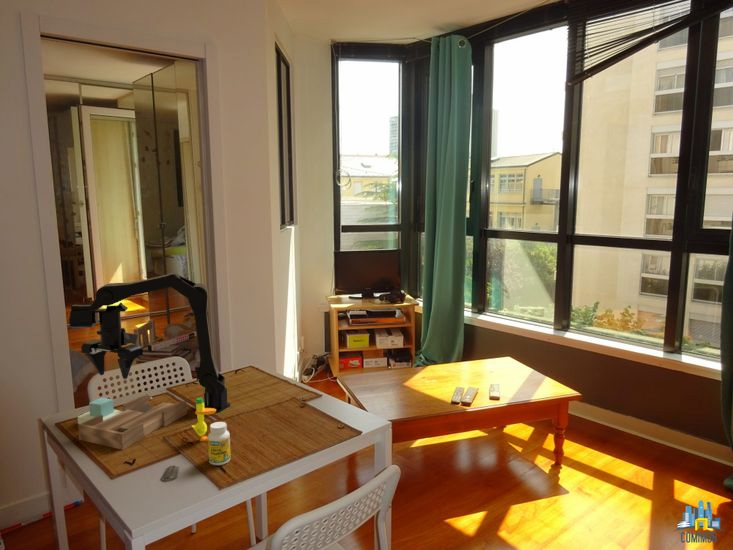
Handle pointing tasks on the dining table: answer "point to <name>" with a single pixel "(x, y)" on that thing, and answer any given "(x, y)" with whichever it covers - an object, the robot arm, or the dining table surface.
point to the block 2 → (170, 473)
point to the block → (101, 407)
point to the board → (87, 416)
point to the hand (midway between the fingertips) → (113, 376)
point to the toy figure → (202, 418)
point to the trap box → (130, 423)
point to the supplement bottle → (219, 444)
